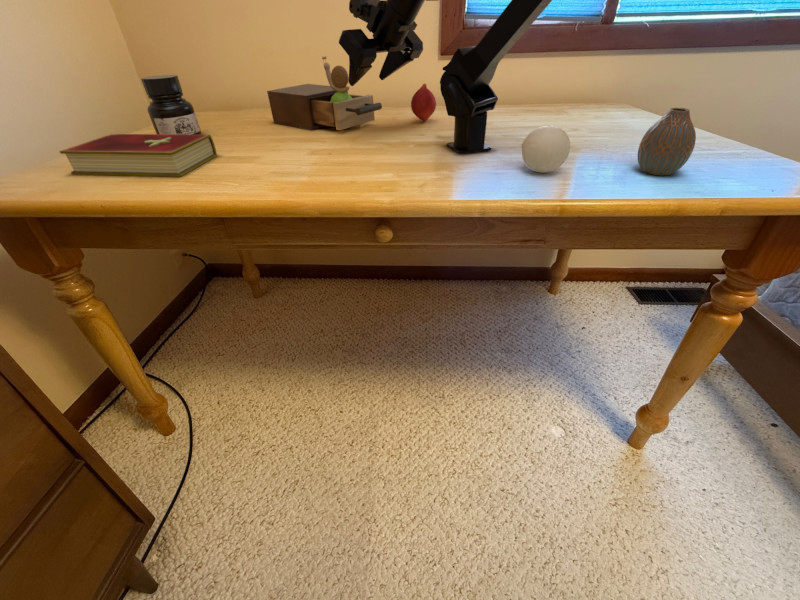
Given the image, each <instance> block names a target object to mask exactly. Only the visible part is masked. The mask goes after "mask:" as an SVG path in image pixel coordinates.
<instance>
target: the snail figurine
mask: <svg viewBox="0 0 800 600" xmlns="http://www.w3.org/2000/svg"><path fill="white" fill-rule="evenodd" d="M321 59H322V63H323V69H324V71H325V76H326V79H327V81H328V85H329V86H331V88H332V89H333V90H335V91H336V92H337V93H335V94H334V95H333V96H332V98H331V100H330V102H334V103H335V102H340V101H344V100H348V99H352V97H351V96H350V95H349V94H350V93H349V90H350V86H349V85H348V84H349V72H348V71H347V69H346V68H345V67H344V66H343V65H335V66H334V67H333V68H332V70H331V64H330V63H329V62H327V56H326V55H324V56H322V57H321ZM347 85H348V86H347ZM346 92H348V93H346Z"/></svg>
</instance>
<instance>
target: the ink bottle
mask: <svg viewBox="0 0 800 600" xmlns="http://www.w3.org/2000/svg"><path fill="white" fill-rule="evenodd" d="M140 81H141V83H142V85H143V88H144V92H145V93H146V95H147V98H148V99H149V100H151V101H150V102H149V105H148V106H147V110H146V111H147V114H148V116H149V118H150V121H151V124H152V127H153V129H154V132H155V134H187V135H202V131H201V130H202V129H201V126H200V124H199V120H198V117H197V115H196V114H197V113H196V112H195V109H194V106H193V104H192V103H191V102H190V101H188V100H186V98H184V97H183V96H184V92H183V89H182V85H181V83H180V80H179V76H178V75H177V74H159V75H150V76H144V77H141V78H140Z"/></svg>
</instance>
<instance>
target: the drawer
mask: <svg viewBox="0 0 800 600" xmlns="http://www.w3.org/2000/svg"><path fill="white" fill-rule="evenodd" d="M348 94H349V95H350V96H351V97H352V99H348V100H344V101H340V102H335V103H334V102H330V100H331V98H332V96H333V95H334V94H333V95H328V96H323V97H318V98H314V99H310V103H311V110H312V116H313V123H316V124H321V125H327V126H326V127H334V128H335V130H336V131H342V130H347V129H349V128H353V127H355V126H359V125H363V124H367V123H369V122H374V121H375V111H380V110H382V109H383V104H382V103H381V102H374V95H373V94H366V95H358V94H352V93H351V94H350V93H348Z"/></svg>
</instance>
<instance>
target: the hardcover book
mask: <svg viewBox="0 0 800 600" xmlns="http://www.w3.org/2000/svg"><path fill="white" fill-rule="evenodd" d="M59 153H60V154H61V155H65V157H66V158H67V160H68V162H69V163H70V166H71V168H72V169H73V171H71V172H70V173H71V175H79V176H81V175H82V176H83V175H84V176H130V177H131V176H132V177H175V178H176V177H177V178H180V177H183V176H184V175H186V174H188V173H190V172H191V171H194V170H195V169H196V168H199V167H200V166H202V165H204V164H206V163H208V162H209V161H211V160H213V159H215V158H216V157H217V156H218V153H217V149H216V145H215V142H214V139H213V137H212V135H211V134H201V135H187V134H156V133H152V134H151V133H142V134H141V133H109V134H106V135H104V136H100V137H97V138H95V139H92V140H89V141H86V142H82V143H80V144H77V145H74V146H71V147H68V148H65V149H63V150H60V151H59Z"/></svg>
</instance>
